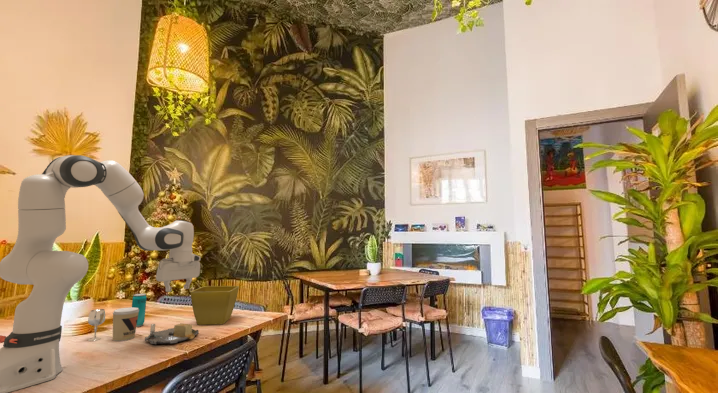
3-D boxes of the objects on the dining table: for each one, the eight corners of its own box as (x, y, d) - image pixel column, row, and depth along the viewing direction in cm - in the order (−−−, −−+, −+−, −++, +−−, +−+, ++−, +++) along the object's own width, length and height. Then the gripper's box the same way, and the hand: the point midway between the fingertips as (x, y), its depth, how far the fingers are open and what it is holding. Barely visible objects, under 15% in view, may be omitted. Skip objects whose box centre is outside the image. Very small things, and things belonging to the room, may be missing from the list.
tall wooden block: (185, 336, 137) (185, 326, 138) (173, 335, 139) (174, 325, 139) (191, 334, 140) (192, 324, 141) (180, 332, 142) (181, 323, 143)
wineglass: (104, 339, 139) (107, 310, 141) (87, 342, 135) (90, 312, 137) (101, 336, 143) (104, 308, 145) (84, 339, 139) (87, 310, 140)
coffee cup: (123, 342, 136) (125, 312, 137) (104, 340, 137) (107, 311, 139) (142, 335, 145) (144, 307, 146) (124, 334, 147) (126, 306, 148)
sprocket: (200, 339, 138) (201, 324, 139) (144, 347, 127) (145, 331, 128) (195, 327, 155) (196, 314, 156) (145, 333, 144) (146, 319, 145)
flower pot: (201, 317, 178) (203, 285, 180) (237, 316, 180) (239, 285, 182) (187, 327, 159) (189, 291, 161) (227, 326, 161) (229, 291, 163)
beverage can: (146, 325, 161) (149, 294, 162) (133, 328, 156) (136, 296, 158) (140, 323, 164) (143, 293, 165) (127, 326, 159) (130, 294, 161)
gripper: (165, 258, 133) (162, 293, 131) (203, 257, 152) (201, 287, 151) (154, 258, 135) (150, 293, 133) (192, 256, 154) (190, 286, 152)
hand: (177, 290), depth 142 cm, fingers open, 8 cm apart
